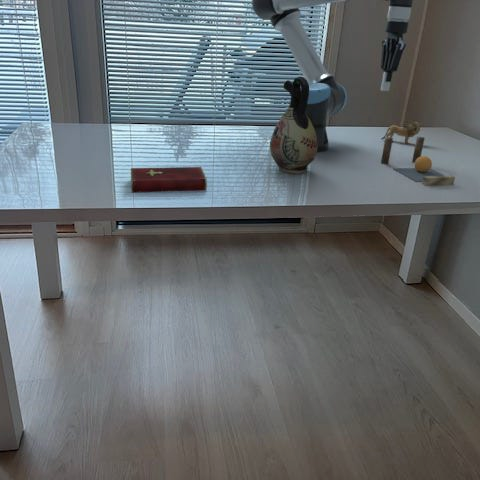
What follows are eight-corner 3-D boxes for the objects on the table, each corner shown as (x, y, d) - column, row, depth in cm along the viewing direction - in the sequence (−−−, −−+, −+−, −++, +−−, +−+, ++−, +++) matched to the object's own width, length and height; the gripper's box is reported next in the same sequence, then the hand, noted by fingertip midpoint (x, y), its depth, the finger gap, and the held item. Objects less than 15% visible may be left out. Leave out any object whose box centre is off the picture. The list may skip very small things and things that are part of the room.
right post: (414, 163, 175) (419, 138, 171) (410, 161, 177) (415, 136, 173) (420, 163, 176) (426, 138, 172) (416, 161, 178) (421, 136, 174)
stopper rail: (425, 185, 152) (427, 178, 151) (421, 183, 153) (423, 176, 152) (453, 184, 154) (455, 177, 153) (449, 182, 156) (451, 175, 155)
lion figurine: (417, 143, 204) (421, 121, 200) (416, 145, 200) (421, 123, 196) (381, 138, 209) (385, 117, 205) (380, 141, 204) (384, 119, 200)
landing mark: (415, 182, 155) (415, 181, 155) (393, 169, 167) (393, 168, 167) (453, 180, 158) (453, 179, 158) (428, 167, 170) (428, 167, 170)
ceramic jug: (260, 164, 165) (266, 72, 152) (301, 162, 170) (310, 72, 157) (282, 180, 151) (290, 79, 138) (325, 176, 156) (337, 79, 143)
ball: (414, 153, 164) (409, 167, 167) (424, 161, 160) (418, 176, 163) (427, 152, 165) (422, 166, 169) (437, 160, 161) (431, 174, 165)
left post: (383, 164, 172) (387, 139, 168) (379, 162, 174) (383, 137, 170) (389, 164, 173) (394, 139, 169) (386, 162, 175) (390, 137, 171)
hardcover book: (206, 192, 139) (206, 178, 137) (131, 194, 135) (130, 179, 133) (201, 179, 150) (201, 165, 148) (131, 180, 146) (130, 167, 144)
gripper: (417, 22, 164) (402, 93, 174) (397, 20, 175) (385, 87, 186) (397, 20, 162) (384, 93, 173) (379, 19, 174) (367, 87, 184)
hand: (384, 90), depth 179 cm, fingers closed
